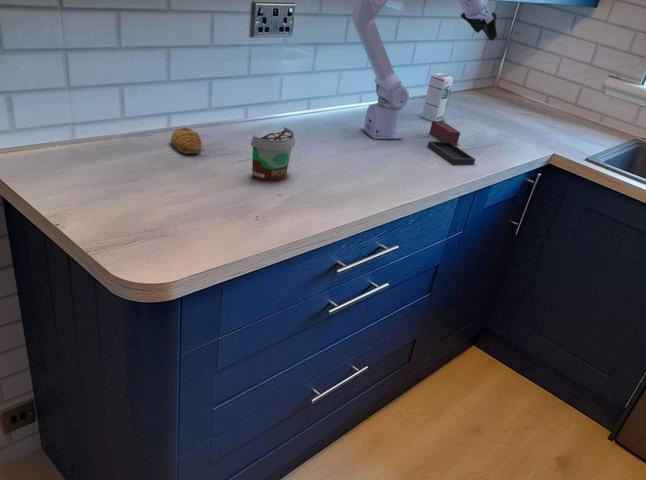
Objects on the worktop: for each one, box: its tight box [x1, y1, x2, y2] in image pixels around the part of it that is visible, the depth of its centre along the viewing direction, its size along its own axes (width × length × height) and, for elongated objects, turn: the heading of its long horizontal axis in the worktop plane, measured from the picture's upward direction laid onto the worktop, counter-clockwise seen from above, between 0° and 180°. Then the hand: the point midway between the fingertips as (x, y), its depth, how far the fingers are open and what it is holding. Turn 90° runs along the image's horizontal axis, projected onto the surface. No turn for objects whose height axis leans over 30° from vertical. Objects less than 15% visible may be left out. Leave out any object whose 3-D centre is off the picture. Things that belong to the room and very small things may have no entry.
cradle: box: [427, 140, 476, 166], centre depth 174 cm, size 8×14×2 cm, turn 26°
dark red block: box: [429, 120, 461, 146], centre depth 185 cm, size 4×10×4 cm, turn 26°
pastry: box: [170, 126, 202, 155], centre depth 142 cm, size 9×7×4 cm
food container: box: [250, 126, 296, 183], centre depth 135 cm, size 12×6×10 cm, turn 148°
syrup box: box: [421, 72, 454, 122], centre depth 199 cm, size 6×6×14 cm
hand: (486, 34), depth 175 cm, fingers open, 7 cm apart
